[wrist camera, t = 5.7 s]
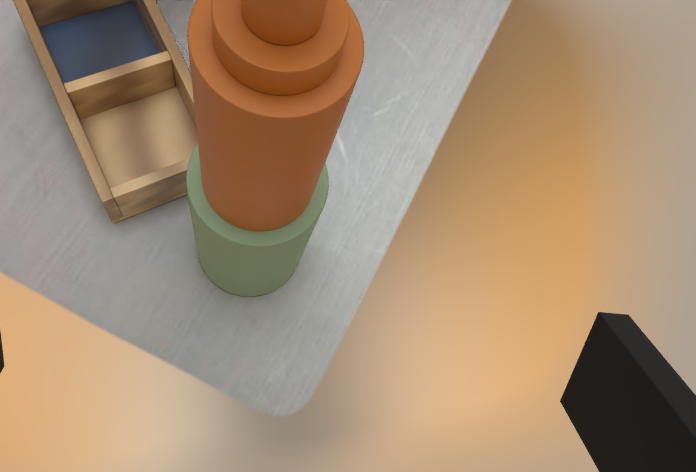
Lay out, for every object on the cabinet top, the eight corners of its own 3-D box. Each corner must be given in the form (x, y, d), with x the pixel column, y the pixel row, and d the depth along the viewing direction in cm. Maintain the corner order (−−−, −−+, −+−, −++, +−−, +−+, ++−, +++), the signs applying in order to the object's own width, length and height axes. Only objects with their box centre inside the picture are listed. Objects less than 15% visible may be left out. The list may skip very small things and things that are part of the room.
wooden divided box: (113, 223, 45) (101, 202, 41) (27, 27, 48) (7, -12, 44) (229, 177, 48) (230, 153, 43) (141, -6, 51) (133, -45, 46)
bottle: (230, 249, 32) (235, 56, 15) (183, 150, 33) (138, -136, 16) (332, 205, 34) (441, -12, 17) (285, 112, 35) (342, -182, 18)
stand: (223, 313, 45) (222, 269, 32) (180, 222, 46) (162, 142, 33) (316, 271, 47) (352, 213, 34) (273, 184, 48) (291, 96, 35)
